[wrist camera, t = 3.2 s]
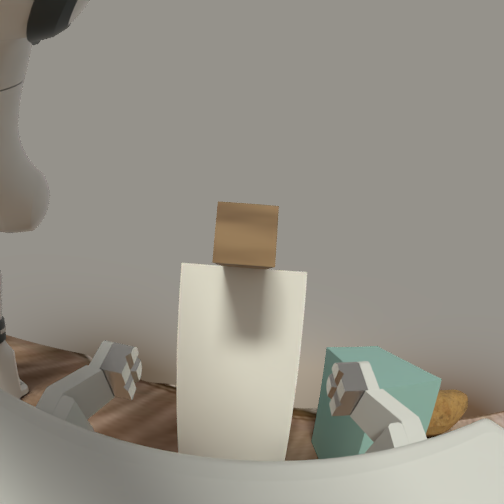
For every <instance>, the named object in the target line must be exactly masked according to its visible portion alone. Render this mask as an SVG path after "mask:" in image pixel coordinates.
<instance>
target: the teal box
mask: <svg viewBox="0 0 504 504" xmlns="http://www.w3.org/2000/svg"><path fill="white" fill-rule="evenodd" d="M361 361H368V362H369V363H370V365H371V367H372V370H373V372H374V375H375V378H376V380H377V383H378V386H379V388H380V389H384V390H385V391H386V392H387V393H389V394H390V395H391V396H392V397H394V398H395V399H396V400H398V401H399V402H400V403H401V404H403V405H404V406H405V407H407V408H408V409H409V410H410V411H412V412H413V413H414V414H416V415H417V416H418V417H419V419H420V421H421V424H422V426H423V429H424V431H425V434H426V432H427V429H428V426H429V423H430V420H431V417H432V413H433V410H434V407H435V403H436V399H437V396H438V392H439V387H440V384H441V380H442V379H440V378H438V377H436V376H434V375H432V374H430V373H428V372H426V371H424V370H422V369H420V368H418V367H417V366H415V365H412V364H411V363H409V362H407V361H405V360H403V359H401V358H399V357H397V356H395V355H393V354H391V353H389V352H387V351H385V350H383V349H382V348H380V347H378V346H370V347H327V349H326V357H325V365H324V372H323V379H322V385H321V392H320V398H319V404H318V410H317V415H316V421H315V426H314V431H313V436H312V444H313V446H314V449H315V451H316V454H317V456H318V459H327V458H336V457H345V456H352V455H359V454H365V452H366V451H367V450H368V448H369V447H370V446H371V445H372V444H373V443H374V442H373V441H372V440H371V439H370V438H369V437H368V435H367V434H366V433H365V432H364V431H363V430H362V429H361V428H360V427H359V426H358V424H357V423H356V422H355V421H354V420H353V419H352V418H351V417H350V415H346V416H332V415H331V410H330V406H329V403H330V401H331V399H330V398H329V397H328V396H327V390H326V385H327V379H328V377H329V375H330V374H332V373H333V372H332V367H333V364H334V363H338V362H361Z"/></svg>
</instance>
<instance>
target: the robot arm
mask: <svg viewBox="0 0 504 504" xmlns="http://www.w3.org/2000/svg"><path fill="white" fill-rule="evenodd" d="M89 1H90V0H0V232H6V233H15V232H26V231H33V230H34V229H35V228H37V226H38V225H39V224H40V223H41V222H42V220H43V219H44V216H45V214H46V212H47V209H48V205H49V196H50V195H49V187H48V183H47V180H46V178H45V176H44V174H43V173H42V172H41V171H39V170H38V169H37V168H36V167H35V166H34V165H33V164H32V162H31V161H30V160H29V158H28V157H27V155H26V153H25V151H24V149H23V146H22V144H21V141H20V137H19V131H18V116H19V106H20V99H21V93H22V88H23V83H24V79H25V74H26V70H27V66H28V61H29V57H30V52H31V47H32V45H35V44H38V43H39V42H40V40H44V39H47V38H51V37H54V36H55V35H57V34H59V33H60V32H62V31H63V30H65V29H67V28H68V27H69V26H70V24H71V22H72V21H73V20H74V19H75V18H76V17H77V16H78V15H79V14H80V13H81V12H82V11H83V9H84V8H85V7H86V5H87V4H88V2H89ZM5 330H6V328H5V322H4V318H3V316H2V275H1V271H0V504H504V429H503V428H502V427H501V426H499V425H498V424H496V423H495V422H493V421H491V420H489V419H481V420H479V421H476V422H474V423H471V424H469V425H467V426H464V427H461V428H459V429H456V430H453V431H450V432H448V433H445V434H442V435H439V436H436V437H432V438H429V439H427V437H426V434H425V431H424V429H423V426H422V424H421V421H420V419H419V417H418V416H417V415H416V414H414V413H413V412H412V411H410V410H409V409H408V408H407V407H405V406H404V405H403V404H401V403H400V402H399V401H398V400H396V399H395V398H394V397H392V396H391V395H390V394H389V393H387V392H386V391H385V390H384V389H380V388H379V386H378V383H377V380H376V378H375V375H374V372H373V370H372V367H371V365H370V363H369V362H368V361H361V362H338V363H334V364H333V367H332V372H333V373H332V374H330V375H329V377H328V379H327V385H326V390H327V396H328V397H329V398H330V399H331V401H330V403H329V406H330V410H331V415H332V416H346V415H350V417H351V418H352V419H353V420H354V421H355V422H356V423H357V424H358V426H359V427H360V428H361V429H362V430H363V431H364V432H365V433H366V434H367V435H368V437H369V438H370V439H371V440H372V441H373V442H374V443H373V444H372V445H371V446H370V447H369V448H368V450H367V451H366V452H365V454H359V455H352V456H345V457H336V458H327V459H315V460H298V461H250V460H233V459H221V458H211V457H202V456H195V455H188V454H182V453H176V452H170V451H165V450H160V449H155V448H151V447H146V446H142V445H138V444H134V443H130V442H127V441H123V440H119V439H116V438H113V437H109V436H106V435H103V434H100V433H97V432H94V429H93V427H92V426H91V424H90V423H89V422H88V420H87V419H89V418H90V417H91V416H92V415H93V414H95V413H96V412H97V411H98V410H100V409H101V408H102V407H103V406H104V405H106V404H107V403H108V402H109V401H111V400H112V399H113V398H114V396H115V397H119V398H123V399H128V400H132V399H133V396H134V393H135V391H136V386H135V383H137V382H138V381H139V380H140V377H141V373H142V364H141V360H139V358H138V357H137V356H138V354H139V353H138V349H137V348H136V347H133V346H128V345H123V344H119V343H114V342H110V341H106V340H105V341H103V342H102V343H101V345H100V347H99V348H98V350H97V352H96V354H95V355H94V357H93V359H92V361H91V362H90V364H89V366H87V365H85V366H84V367H82V368H80V369H78V370H76V371H75V372H73V373H71V374H69V375H68V376H66V377H64V378H62V379H60V380H59V381H57V382H55V383H53V384H52V385H50V386H48V387H47V388H46V390H45V391H44V393H43V395H42V397H41V398H40V400H39V402H38V404H37V405H36V407H34V406H32V405H30V404H28V403H26V402H24V401H22V400H20V398H21V397H22V396H23V395H25V394H27V393H28V392H29V389H28V386H27V385H26V384H25V383H24V382H23V381H22V380H21V379H20V378H19V376H18V370H17V365H16V359H15V353H14V350H13V349H12V348H11V347H10V346H9V345H8V344H7V343H6V341H5V339H6V334H5Z"/></svg>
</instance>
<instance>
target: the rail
mask: <svg viewBox="0 0 504 504" xmlns="http://www.w3.org/2000/svg"><path fill="white" fill-rule="evenodd" d="M278 209H279V206H271V205H259V204H246V203H231V202H218V207H217V218H216V228H215V240H214V251H213V263H216V264H219V265H221V266H227V267H240V268H254V269H269V268H273V267H275V257H276V242H277V225H278Z"/></svg>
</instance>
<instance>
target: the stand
mask: <svg viewBox="0 0 504 504" xmlns="http://www.w3.org/2000/svg"><path fill="white" fill-rule="evenodd" d="M306 282H307V272H296V271H282V270H268V269H254V268H240V267H227V266H214V265H202V264H201V265H200V264H190V263H182V266H181V280H180V296H179V312H178V336H177V434H178V453H182V454H188V455H195V456H202V457H211V458H221V459H233V460H250V461H285V456H286V450H287V444H288V438H289V432H290V426H291V419H292V412H293V406H294V398H295V390H296V383H297V374H298V367H299V358H300V349H301V340H302V330H303V319H304V308H305V296H306Z"/></svg>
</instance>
